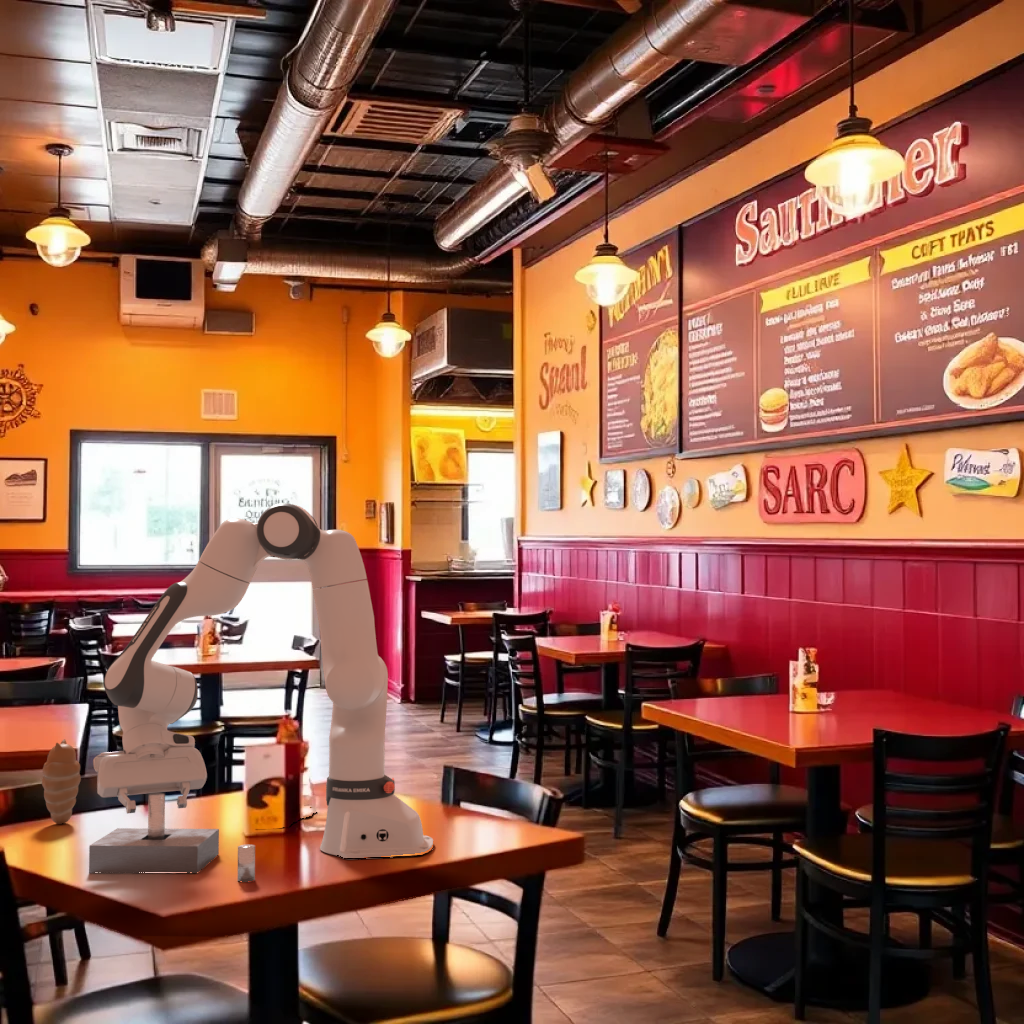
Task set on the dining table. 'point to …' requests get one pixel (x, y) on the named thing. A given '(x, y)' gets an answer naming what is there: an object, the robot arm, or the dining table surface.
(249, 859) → the short pin
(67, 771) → the cat ice cream
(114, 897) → the dining table surface
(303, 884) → the dining table surface
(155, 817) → the tall pin
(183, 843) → the grey peg hole block
